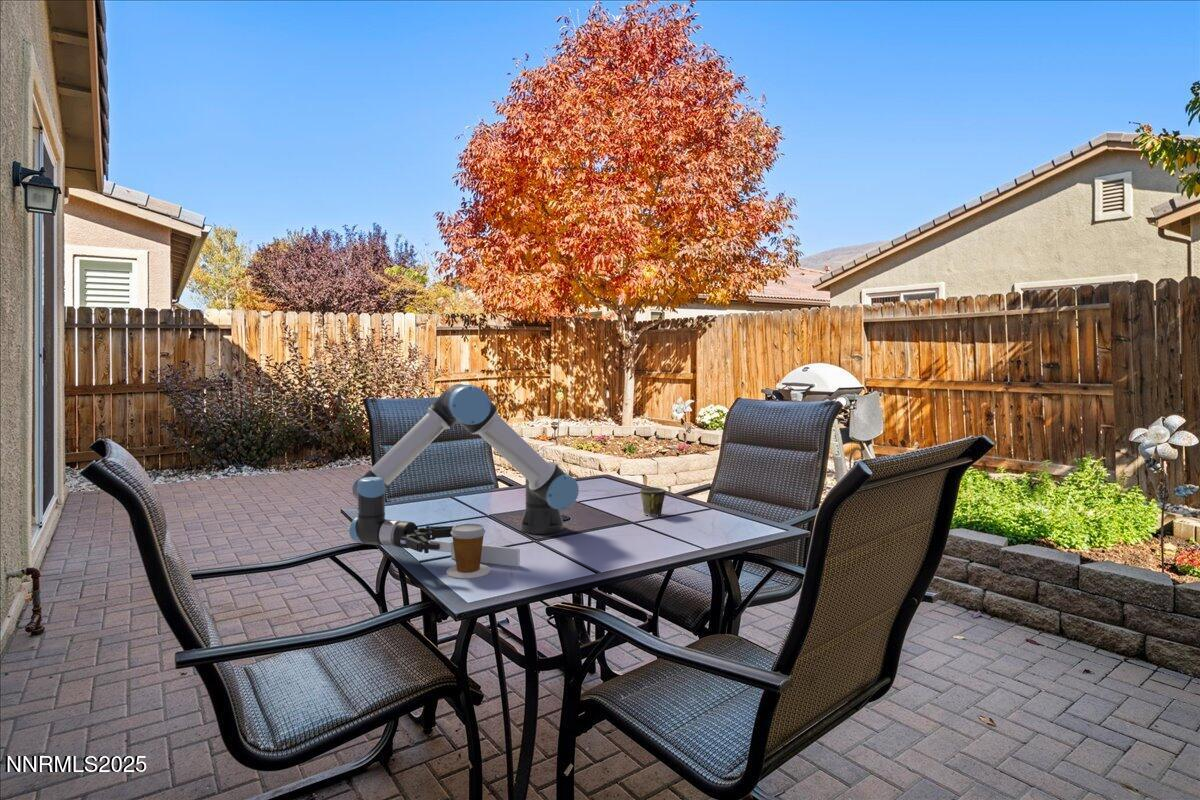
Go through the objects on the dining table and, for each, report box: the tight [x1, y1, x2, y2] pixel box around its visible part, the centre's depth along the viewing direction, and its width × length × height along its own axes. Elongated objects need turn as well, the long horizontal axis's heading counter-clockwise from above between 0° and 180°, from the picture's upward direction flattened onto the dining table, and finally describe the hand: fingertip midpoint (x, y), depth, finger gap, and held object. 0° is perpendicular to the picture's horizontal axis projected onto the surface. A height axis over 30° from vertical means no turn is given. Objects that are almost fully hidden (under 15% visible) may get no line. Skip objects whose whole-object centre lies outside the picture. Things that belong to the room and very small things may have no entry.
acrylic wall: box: [450, 541, 521, 568], centre depth 192 cm, size 22×1×5 cm, turn 71°
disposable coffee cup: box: [451, 523, 486, 573], centre depth 184 cm, size 10×10×12 cm
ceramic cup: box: [639, 486, 667, 517], centre depth 253 cm, size 13×10×10 cm
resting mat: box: [446, 563, 491, 580], centre depth 183 cm, size 12×12×1 cm
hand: (464, 540), depth 183 cm, fingers open, 13 cm apart
